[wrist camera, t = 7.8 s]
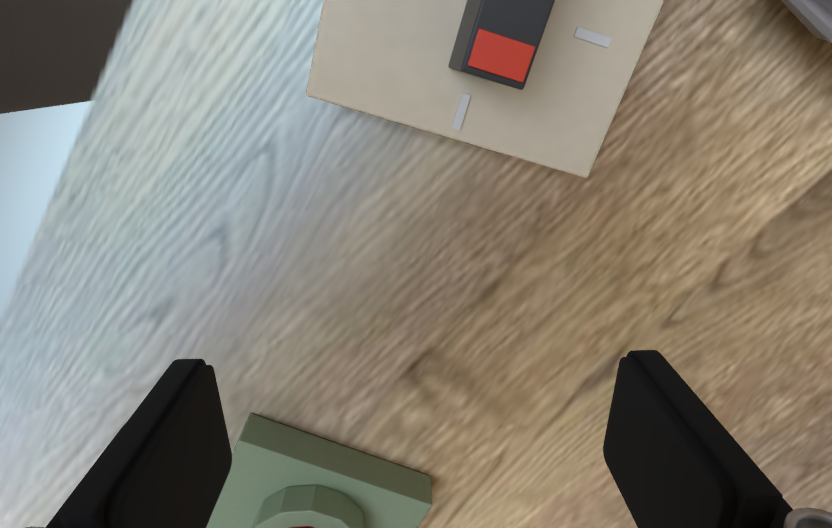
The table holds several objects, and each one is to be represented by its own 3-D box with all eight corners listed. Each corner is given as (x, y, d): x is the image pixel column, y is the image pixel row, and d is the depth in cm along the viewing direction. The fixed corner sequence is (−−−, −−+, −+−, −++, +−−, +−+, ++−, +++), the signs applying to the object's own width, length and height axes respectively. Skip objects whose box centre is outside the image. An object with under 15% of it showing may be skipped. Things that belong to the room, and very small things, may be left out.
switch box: (206, 511, 32) (180, 571, 28) (250, 412, 28) (227, 465, 25) (373, 561, 34) (369, 623, 30) (431, 475, 31) (434, 533, 27)
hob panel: (318, 90, 21) (304, 95, 18) (372, -188, 18) (366, -236, 15) (565, 164, 23) (589, 179, 20) (665, -77, 19) (711, -101, 16)
